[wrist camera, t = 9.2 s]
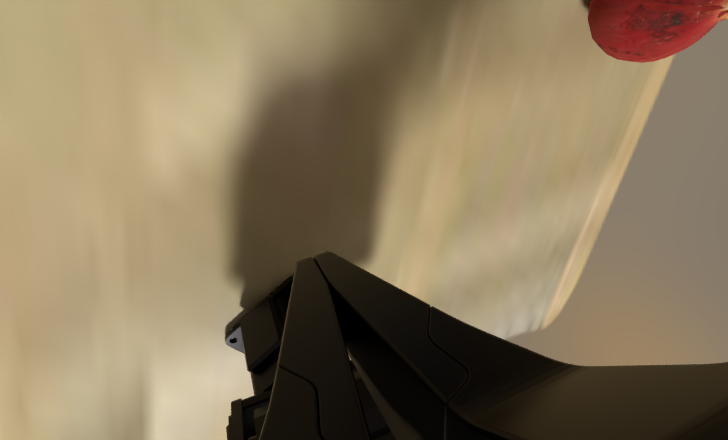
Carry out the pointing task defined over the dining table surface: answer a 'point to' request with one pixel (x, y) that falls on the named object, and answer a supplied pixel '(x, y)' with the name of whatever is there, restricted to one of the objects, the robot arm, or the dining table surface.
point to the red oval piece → (651, 26)
